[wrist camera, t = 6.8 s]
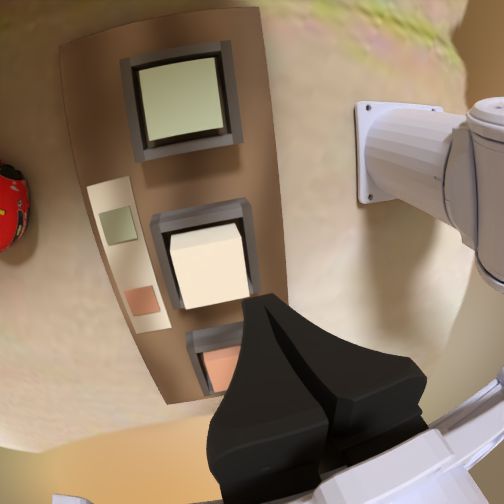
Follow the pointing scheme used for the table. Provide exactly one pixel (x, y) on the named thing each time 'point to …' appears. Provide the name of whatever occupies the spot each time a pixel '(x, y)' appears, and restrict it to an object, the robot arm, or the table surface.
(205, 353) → the terracotta key
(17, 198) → the race car
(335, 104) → the table surface
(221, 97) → the keypad
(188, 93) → the sage key
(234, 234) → the cream key
